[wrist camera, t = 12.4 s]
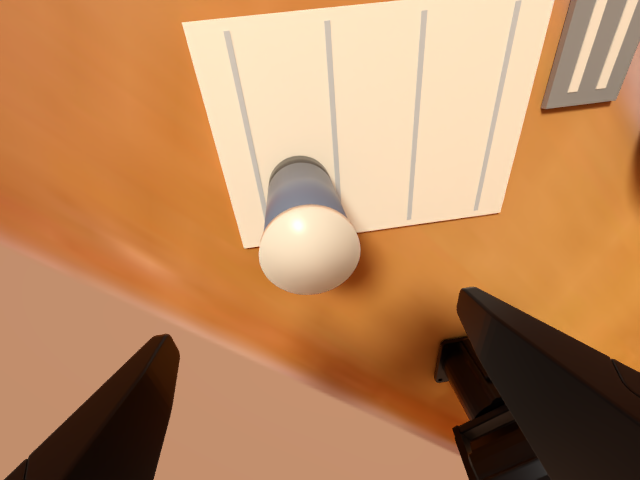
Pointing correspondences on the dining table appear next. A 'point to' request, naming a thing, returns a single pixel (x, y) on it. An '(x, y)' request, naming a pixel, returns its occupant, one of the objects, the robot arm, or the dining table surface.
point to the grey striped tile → (593, 52)
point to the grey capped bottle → (306, 230)
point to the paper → (373, 103)
